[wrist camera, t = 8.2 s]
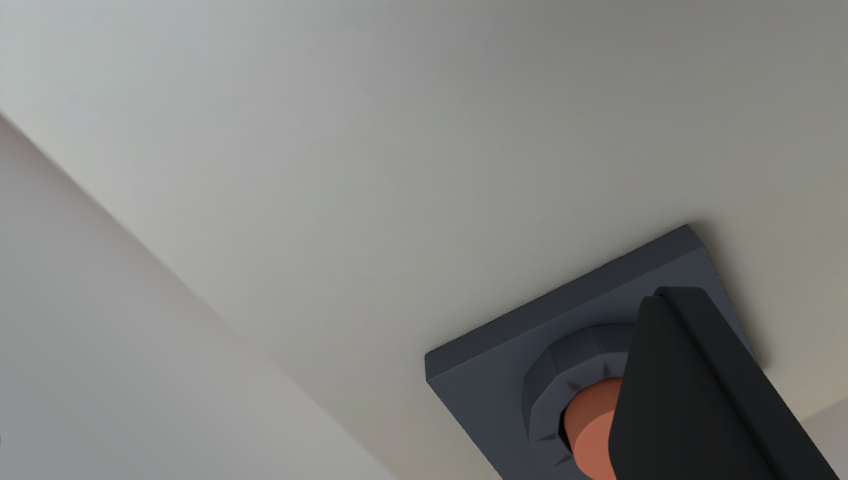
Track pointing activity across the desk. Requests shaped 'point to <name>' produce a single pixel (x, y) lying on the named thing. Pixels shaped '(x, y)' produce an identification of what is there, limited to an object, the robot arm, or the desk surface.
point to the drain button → (593, 427)
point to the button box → (560, 355)
